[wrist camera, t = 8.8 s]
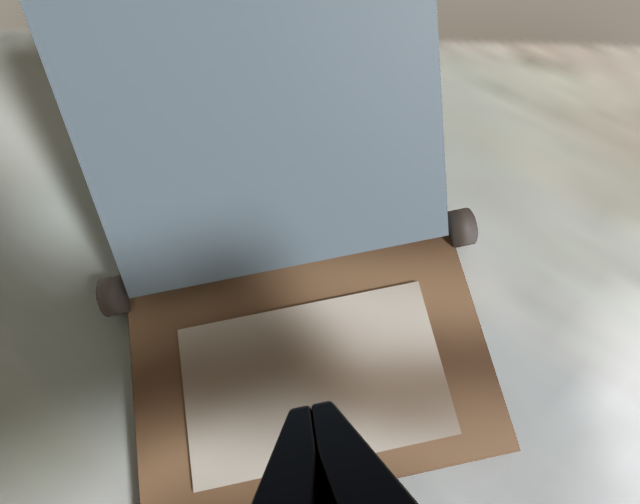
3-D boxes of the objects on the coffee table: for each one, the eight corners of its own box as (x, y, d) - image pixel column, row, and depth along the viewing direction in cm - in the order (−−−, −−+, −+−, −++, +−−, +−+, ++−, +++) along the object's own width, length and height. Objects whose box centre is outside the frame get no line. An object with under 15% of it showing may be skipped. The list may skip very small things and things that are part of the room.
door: (448, 235, 19) (429, -127, 14) (129, 298, 18) (-4, -59, 14) (430, 218, 21) (408, -104, 16) (141, 274, 20) (31, -44, 16)
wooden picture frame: (532, 444, 18) (553, 446, 17) (128, 534, 17) (106, 546, 16) (458, 218, 21) (469, 201, 20) (114, 286, 21) (95, 274, 19)
